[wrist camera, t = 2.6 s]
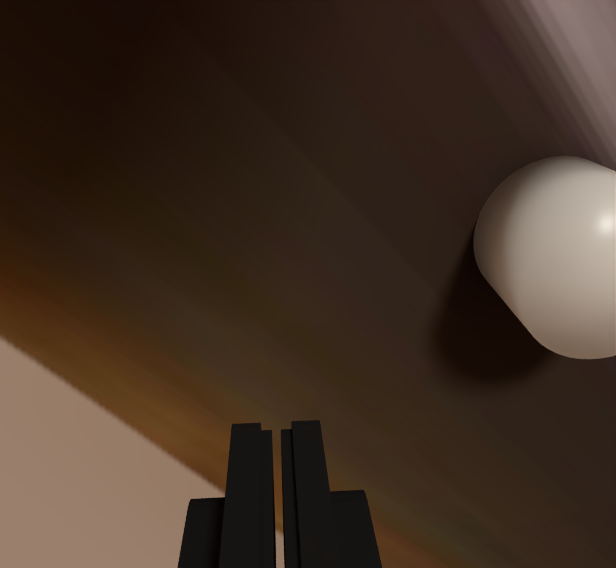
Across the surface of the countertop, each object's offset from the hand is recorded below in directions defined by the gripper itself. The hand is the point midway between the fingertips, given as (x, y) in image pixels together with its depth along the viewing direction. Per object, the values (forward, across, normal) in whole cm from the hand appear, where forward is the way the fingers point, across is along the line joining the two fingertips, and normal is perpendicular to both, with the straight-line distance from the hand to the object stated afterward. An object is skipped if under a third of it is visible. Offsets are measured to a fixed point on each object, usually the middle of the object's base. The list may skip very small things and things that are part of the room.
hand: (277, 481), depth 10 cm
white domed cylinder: (+12, -11, -1) cm, 16 cm away
